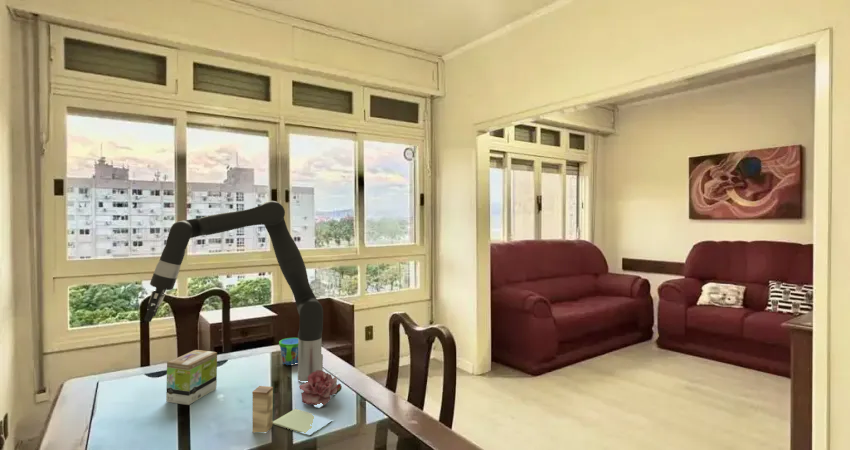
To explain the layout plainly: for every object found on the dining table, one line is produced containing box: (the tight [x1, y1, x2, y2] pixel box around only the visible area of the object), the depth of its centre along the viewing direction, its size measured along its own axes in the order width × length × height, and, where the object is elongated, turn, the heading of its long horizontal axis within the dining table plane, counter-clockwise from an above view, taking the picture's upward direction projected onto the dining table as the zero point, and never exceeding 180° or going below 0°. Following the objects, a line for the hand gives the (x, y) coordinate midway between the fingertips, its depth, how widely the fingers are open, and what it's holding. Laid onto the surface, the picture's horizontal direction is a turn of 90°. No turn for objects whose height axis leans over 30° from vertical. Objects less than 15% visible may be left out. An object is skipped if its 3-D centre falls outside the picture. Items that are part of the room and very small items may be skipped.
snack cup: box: [278, 337, 298, 366], centre depth 204 cm, size 16×10×10 cm
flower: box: [298, 370, 343, 406], centre depth 168 cm, size 15×15×10 cm
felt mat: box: [272, 408, 314, 433], centre depth 151 cm, size 11×16×1 cm
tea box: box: [165, 349, 218, 406], centre depth 169 cm, size 15×10×15 cm, turn 168°
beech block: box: [252, 385, 274, 433], centre depth 146 cm, size 5×5×13 cm
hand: (149, 318), depth 162 cm, fingers open, 8 cm apart
